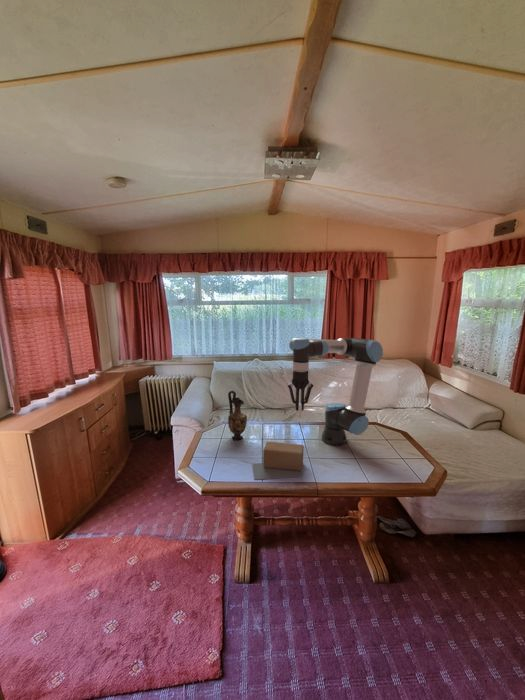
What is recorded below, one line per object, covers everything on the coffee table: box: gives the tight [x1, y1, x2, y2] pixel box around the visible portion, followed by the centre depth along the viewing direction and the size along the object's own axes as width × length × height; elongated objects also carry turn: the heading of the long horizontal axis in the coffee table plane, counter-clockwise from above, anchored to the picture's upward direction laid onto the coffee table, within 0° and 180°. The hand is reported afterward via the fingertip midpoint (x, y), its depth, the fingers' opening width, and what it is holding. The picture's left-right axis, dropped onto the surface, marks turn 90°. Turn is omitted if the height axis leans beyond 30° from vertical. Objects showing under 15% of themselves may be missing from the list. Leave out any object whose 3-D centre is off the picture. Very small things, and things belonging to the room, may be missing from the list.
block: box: [262, 441, 304, 472], centre depth 151 cm, size 10×10×20 cm
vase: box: [227, 390, 248, 442], centre depth 180 cm, size 12×12×30 cm
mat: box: [251, 462, 304, 481], centre depth 147 cm, size 24×14×1 cm, turn 96°
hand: (299, 416), depth 144 cm, fingers closed
